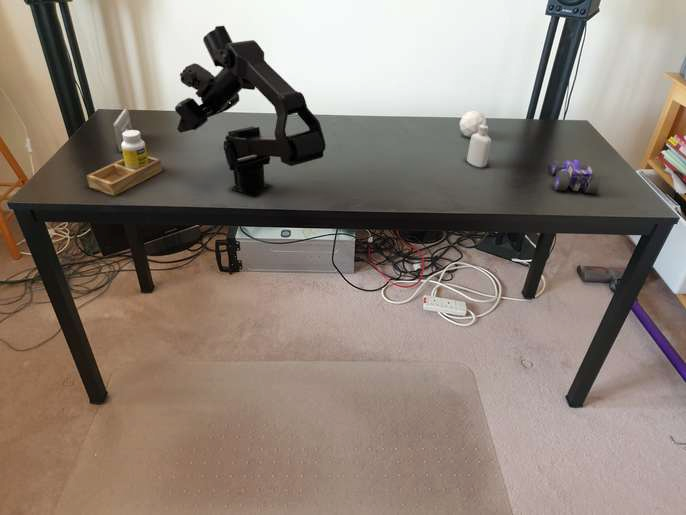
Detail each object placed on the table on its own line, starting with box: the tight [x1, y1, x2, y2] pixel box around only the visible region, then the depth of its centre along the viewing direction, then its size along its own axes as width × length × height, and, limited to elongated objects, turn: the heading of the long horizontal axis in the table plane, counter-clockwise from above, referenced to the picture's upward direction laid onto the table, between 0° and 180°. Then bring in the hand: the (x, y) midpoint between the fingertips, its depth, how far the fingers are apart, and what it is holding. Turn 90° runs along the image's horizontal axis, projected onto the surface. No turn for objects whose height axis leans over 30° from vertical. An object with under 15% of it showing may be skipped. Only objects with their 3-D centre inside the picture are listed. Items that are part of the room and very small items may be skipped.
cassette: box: [113, 108, 133, 153], centre depth 143 cm, size 12×2×8 cm, turn 5°
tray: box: [86, 155, 163, 197], centre depth 127 cm, size 8×15×3 cm, turn 152°
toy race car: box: [550, 159, 601, 195], centre depth 135 cm, size 10×15×6 cm, turn 172°
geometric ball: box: [459, 110, 488, 139], centre depth 157 cm, size 8×8×8 cm
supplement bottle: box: [121, 129, 149, 170], centre depth 127 cm, size 5×5×10 cm
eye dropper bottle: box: [466, 120, 492, 168], centre depth 140 cm, size 4×6×12 cm
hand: (190, 124), depth 125 cm, fingers open, 9 cm apart
